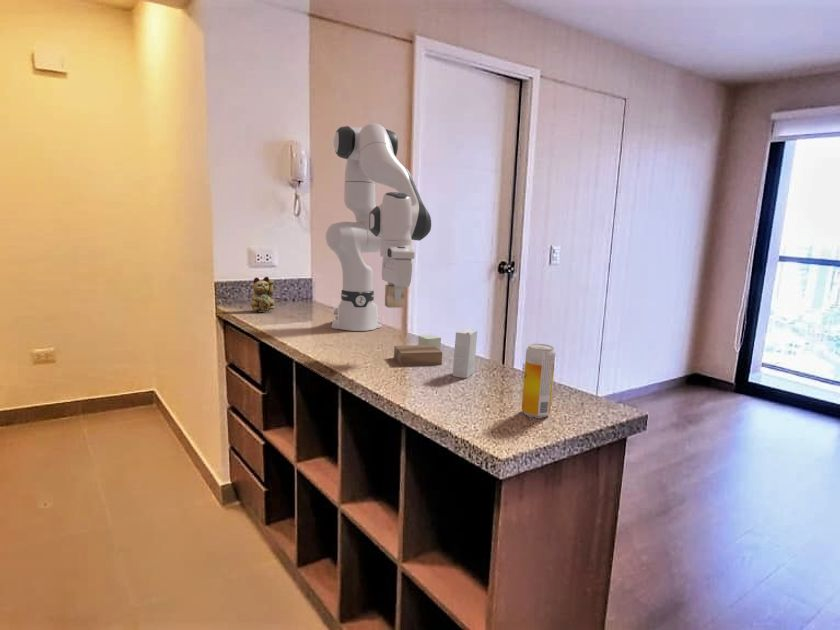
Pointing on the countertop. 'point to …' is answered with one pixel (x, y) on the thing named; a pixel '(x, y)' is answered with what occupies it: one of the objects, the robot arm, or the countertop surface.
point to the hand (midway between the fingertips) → (394, 299)
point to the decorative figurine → (262, 295)
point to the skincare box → (464, 353)
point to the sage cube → (430, 340)
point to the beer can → (538, 380)
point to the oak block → (390, 297)
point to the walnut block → (417, 355)
